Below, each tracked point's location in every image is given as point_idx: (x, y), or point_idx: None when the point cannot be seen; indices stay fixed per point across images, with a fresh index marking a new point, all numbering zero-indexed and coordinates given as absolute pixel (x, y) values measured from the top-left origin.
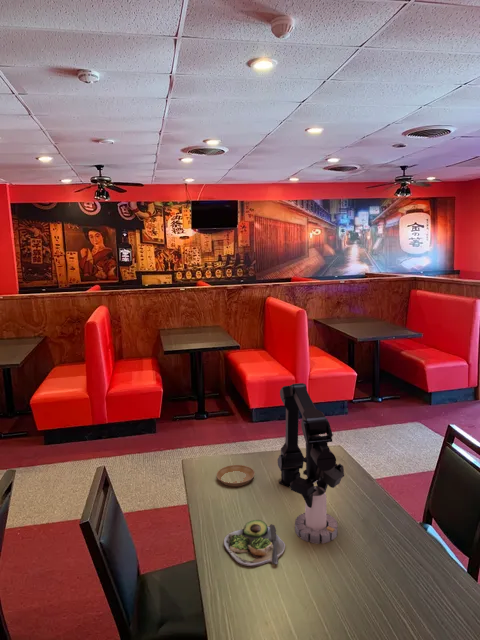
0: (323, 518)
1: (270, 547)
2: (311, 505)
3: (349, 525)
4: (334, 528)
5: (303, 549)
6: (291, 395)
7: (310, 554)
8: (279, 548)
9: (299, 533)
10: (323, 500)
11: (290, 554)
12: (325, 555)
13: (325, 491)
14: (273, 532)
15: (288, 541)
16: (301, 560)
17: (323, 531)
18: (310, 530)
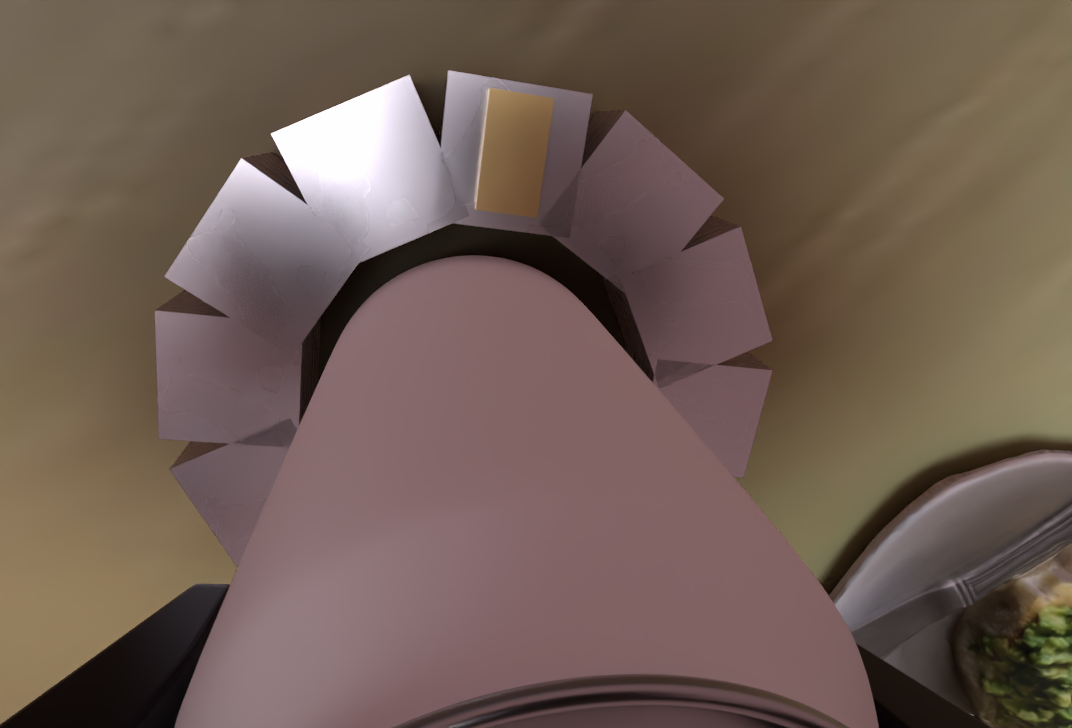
0: (548, 304)
1: (1069, 574)
2: None
3: (66, 8)
4: (456, 108)
5: (860, 320)
6: None
7: (912, 216)
8: (1004, 507)
9: None
10: (654, 482)
11: (977, 389)
12: (871, 49)
13: (38, 708)
14: None
15: (797, 504)
16: (1031, 252)
17: (616, 225)
18: (674, 385)
